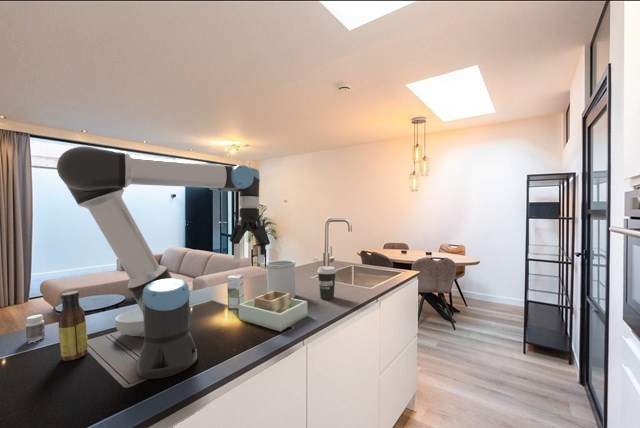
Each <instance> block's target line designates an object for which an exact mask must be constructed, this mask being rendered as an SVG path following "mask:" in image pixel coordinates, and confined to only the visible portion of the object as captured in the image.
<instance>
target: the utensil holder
mask: <svg viewBox="0 0 640 428" xmlns="http://www.w3.org/2000/svg"><path fill="white" fill-rule="evenodd" d="M265 267H266V281H267V282H266V284H267V285H266V286H267V293H269V292H272V291H274V290H275V291H280V292H286V293H291V298H293V299H295V297H296V261H295V260H291V259H279V260H271V261H270V260H269V261H268V262H265Z"/></svg>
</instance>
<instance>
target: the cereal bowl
mask: <svg viewBox="0 0 640 428" xmlns="http://www.w3.org/2000/svg"><path fill="white" fill-rule="evenodd" d="M114 322H115V323H114V325H115V328H116V330H117V331H118V332H119V333H120V334H122V335H125V336H131V335H132V336H131V337H133V336H141V337H144V336H143V335H144V320H143V313H142V311H141V309H140V307H138V308H134V309H131V310H128V311H125V312H122V313H120V314H118V315H117V316H116V317H115V320H114Z"/></svg>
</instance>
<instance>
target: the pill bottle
mask: <svg viewBox="0 0 640 428" xmlns="http://www.w3.org/2000/svg"><path fill="white" fill-rule="evenodd" d="M45 324H46V323H45V320H44V315H43V314H40V313H39V314H34V315H30V316H27V317H26V323H25V324H24V332H25V343H26V342H29V341H36V340H40V339H43V338H44V337H45V338H46V334H45V333H46V328H45V327H46V326H45ZM45 338H44V339H45ZM44 339H43V340H44Z"/></svg>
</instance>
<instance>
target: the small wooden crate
mask: <svg viewBox="0 0 640 428" xmlns="http://www.w3.org/2000/svg"><path fill="white" fill-rule="evenodd" d="M253 299H254V307H256V308H260V309H264V310H268V311H272V312H276V313H282V312H284V311H286V310H288V309H290V308H291V293H286V292H280V291H275V290H274V291H272V292H269V293H268V292H266V293H265V294H262V295H259V296H256V297H254V298H253Z"/></svg>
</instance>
